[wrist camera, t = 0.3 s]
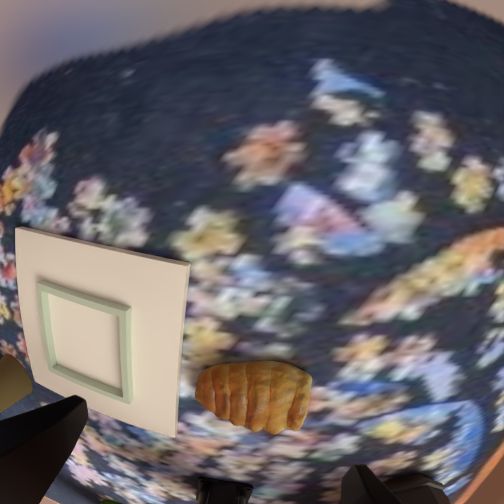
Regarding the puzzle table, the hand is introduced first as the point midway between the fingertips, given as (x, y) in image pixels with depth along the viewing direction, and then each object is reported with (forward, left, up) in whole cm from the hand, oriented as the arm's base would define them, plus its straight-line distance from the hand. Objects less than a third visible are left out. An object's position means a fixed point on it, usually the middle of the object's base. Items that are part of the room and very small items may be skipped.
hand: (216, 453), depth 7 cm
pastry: (-8, -2, -15) cm, 17 cm away
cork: (-18, +28, -15) cm, 36 cm away
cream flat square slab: (-7, +14, -14) cm, 21 cm away
